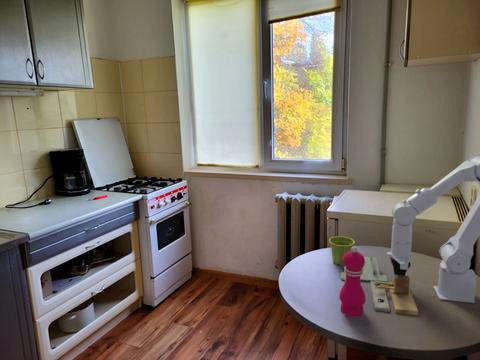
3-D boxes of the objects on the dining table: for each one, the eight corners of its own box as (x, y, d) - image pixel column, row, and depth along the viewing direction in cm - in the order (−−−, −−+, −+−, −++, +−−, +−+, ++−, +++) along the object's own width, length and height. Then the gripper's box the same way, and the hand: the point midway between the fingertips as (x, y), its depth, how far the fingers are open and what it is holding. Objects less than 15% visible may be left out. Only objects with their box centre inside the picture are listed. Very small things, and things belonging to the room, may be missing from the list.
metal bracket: (339, 250, 131) (381, 252, 128) (338, 262, 134) (380, 264, 131) (341, 277, 119) (388, 280, 115) (340, 289, 121) (386, 293, 118)
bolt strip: (382, 285, 116) (383, 282, 116) (389, 311, 101) (389, 308, 101) (370, 284, 117) (370, 281, 117) (374, 310, 102) (375, 306, 102)
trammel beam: (407, 287, 114) (407, 282, 114) (418, 315, 99) (418, 308, 99) (374, 284, 117) (375, 278, 116) (380, 310, 102) (380, 304, 101)
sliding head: (407, 290, 110) (408, 275, 109) (408, 294, 107) (409, 279, 106) (376, 287, 112) (377, 272, 111) (377, 291, 110) (378, 276, 109)
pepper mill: (365, 319, 98) (368, 253, 94) (339, 316, 100) (340, 250, 96) (364, 306, 104) (366, 243, 100) (339, 303, 106) (340, 241, 102)
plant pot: (358, 265, 131) (359, 243, 129) (335, 268, 129) (336, 246, 127) (345, 255, 140) (346, 235, 138) (324, 258, 138) (324, 237, 136)
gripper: (385, 232, 118) (383, 269, 121) (390, 248, 105) (388, 290, 107) (407, 233, 116) (405, 271, 119) (416, 250, 103) (413, 292, 105)
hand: (398, 280), depth 113 cm, fingers closed
